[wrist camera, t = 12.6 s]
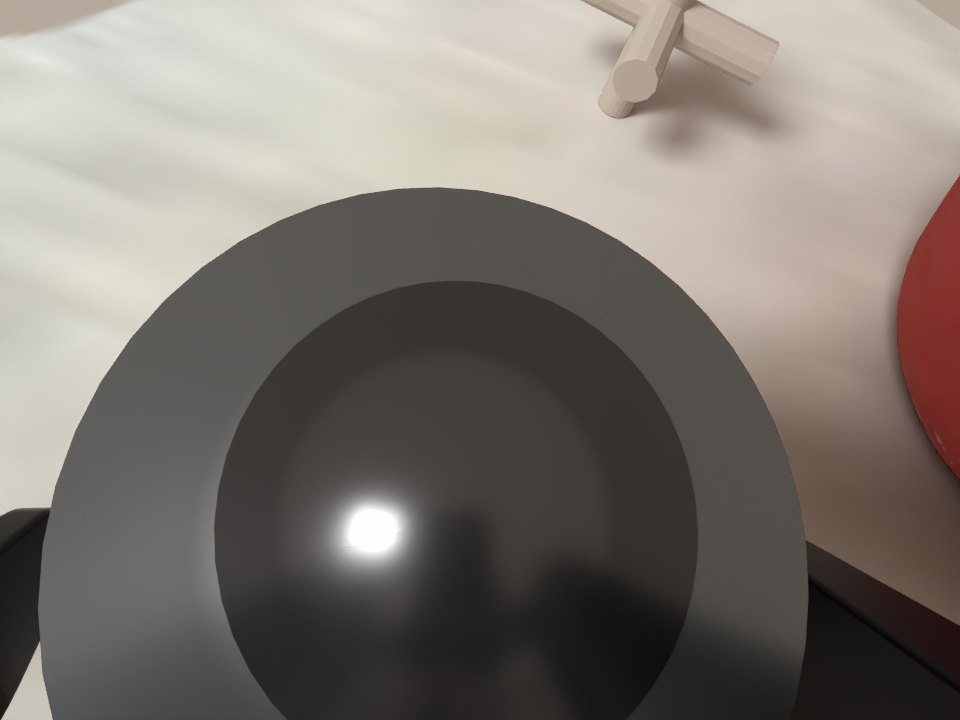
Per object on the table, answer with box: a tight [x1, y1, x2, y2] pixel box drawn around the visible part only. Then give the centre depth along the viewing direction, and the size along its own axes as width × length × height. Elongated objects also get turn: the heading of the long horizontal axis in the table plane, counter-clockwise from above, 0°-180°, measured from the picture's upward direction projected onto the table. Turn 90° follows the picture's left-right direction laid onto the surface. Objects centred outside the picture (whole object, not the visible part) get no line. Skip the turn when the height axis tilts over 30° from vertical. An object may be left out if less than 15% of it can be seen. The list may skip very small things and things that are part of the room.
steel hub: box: [38, 187, 809, 720], centre depth 9 cm, size 5×5×13 cm
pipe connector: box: [581, 0, 779, 118], centre depth 22 cm, size 10×10×10 cm
